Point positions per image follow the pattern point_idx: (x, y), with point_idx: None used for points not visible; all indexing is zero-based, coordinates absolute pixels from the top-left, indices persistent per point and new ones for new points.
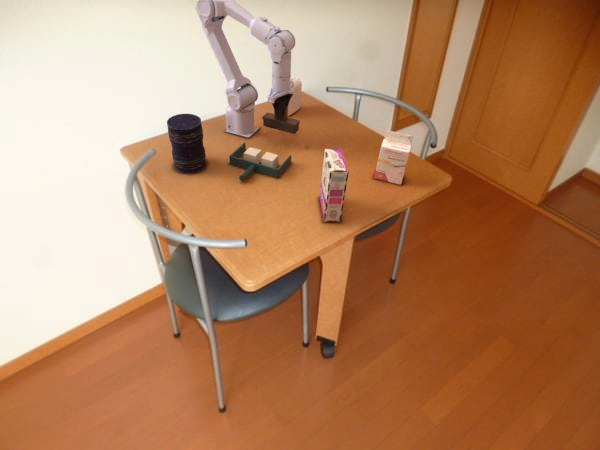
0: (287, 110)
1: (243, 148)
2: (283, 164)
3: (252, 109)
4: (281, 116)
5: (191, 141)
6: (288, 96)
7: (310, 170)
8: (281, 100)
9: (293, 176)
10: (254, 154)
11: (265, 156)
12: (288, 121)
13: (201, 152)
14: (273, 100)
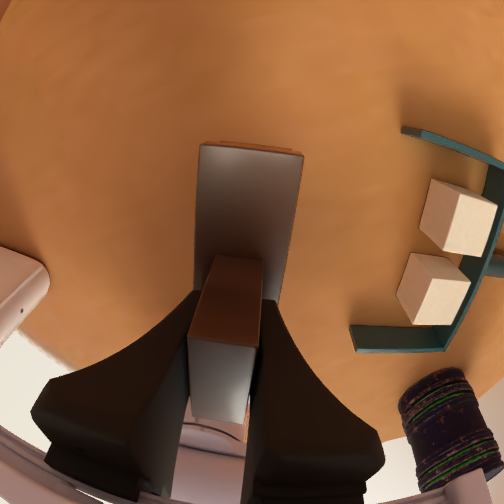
0: (208, 302)
1: (369, 337)
2: (487, 155)
3: (197, 426)
4: (277, 311)
5: (493, 437)
6: (142, 437)
7: (420, 39)
8: (364, 474)
9: (474, 105)
10: (461, 288)
11: (474, 244)
12: (263, 233)
13: (464, 405)
14: (488, 494)
